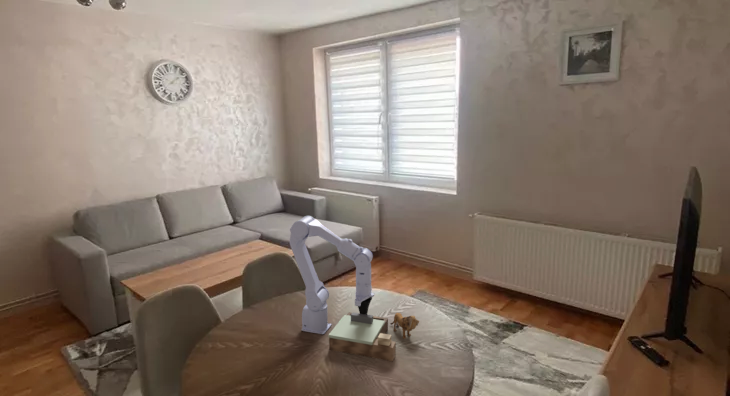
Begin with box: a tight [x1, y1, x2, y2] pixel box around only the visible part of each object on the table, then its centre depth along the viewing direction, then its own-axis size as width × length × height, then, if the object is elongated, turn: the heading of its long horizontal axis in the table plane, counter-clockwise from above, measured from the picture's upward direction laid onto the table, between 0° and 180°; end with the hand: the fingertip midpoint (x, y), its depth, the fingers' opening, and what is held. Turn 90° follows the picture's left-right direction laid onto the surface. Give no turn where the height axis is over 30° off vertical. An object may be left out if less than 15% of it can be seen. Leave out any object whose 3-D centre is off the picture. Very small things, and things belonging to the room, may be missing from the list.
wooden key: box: [378, 333, 392, 346], centre depth 142 cm, size 4×3×2 cm
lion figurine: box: [389, 312, 420, 339], centre depth 159 cm, size 15×5×9 cm, turn 36°
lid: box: [328, 312, 385, 345], centre depth 151 cm, size 16×16×4 cm
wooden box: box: [328, 312, 397, 362], centre depth 153 cm, size 23×20×5 cm
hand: (363, 316), depth 157 cm, fingers closed
